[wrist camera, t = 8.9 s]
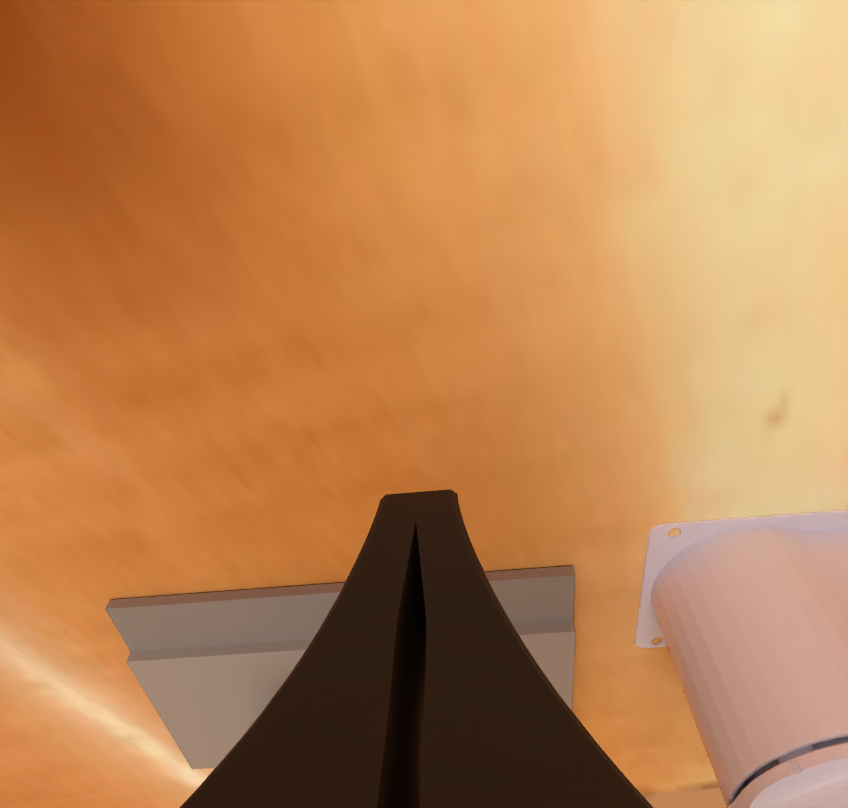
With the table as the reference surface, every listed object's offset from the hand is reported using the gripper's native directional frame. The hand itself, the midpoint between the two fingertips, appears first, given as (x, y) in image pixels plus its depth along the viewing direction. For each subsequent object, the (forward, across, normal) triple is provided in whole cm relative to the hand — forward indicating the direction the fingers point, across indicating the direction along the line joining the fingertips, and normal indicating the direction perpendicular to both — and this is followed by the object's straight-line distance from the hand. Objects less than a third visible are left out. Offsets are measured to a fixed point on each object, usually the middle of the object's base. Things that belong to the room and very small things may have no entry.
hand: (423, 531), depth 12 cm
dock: (+9, +5, +18) cm, 21 cm away
